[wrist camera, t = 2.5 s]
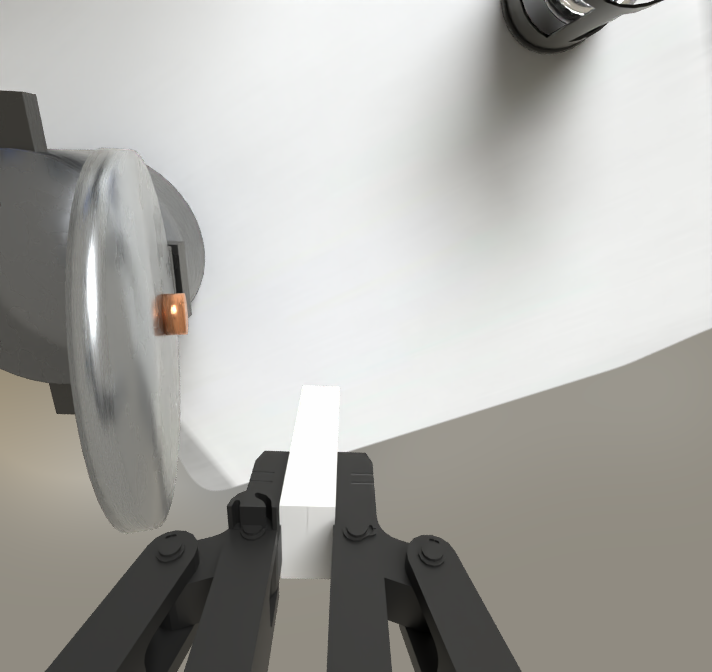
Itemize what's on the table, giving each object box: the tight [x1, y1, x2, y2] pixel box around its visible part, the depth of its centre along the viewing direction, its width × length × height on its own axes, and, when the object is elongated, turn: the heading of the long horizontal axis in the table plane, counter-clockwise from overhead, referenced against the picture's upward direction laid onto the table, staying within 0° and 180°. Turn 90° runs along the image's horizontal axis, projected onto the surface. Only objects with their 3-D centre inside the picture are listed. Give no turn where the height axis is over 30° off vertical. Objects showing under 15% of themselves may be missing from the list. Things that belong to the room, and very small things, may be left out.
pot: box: [0, 90, 205, 414], centre depth 38 cm, size 25×20×12 cm
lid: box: [65, 148, 188, 534], centre depth 24 cm, size 19×20×2 cm
